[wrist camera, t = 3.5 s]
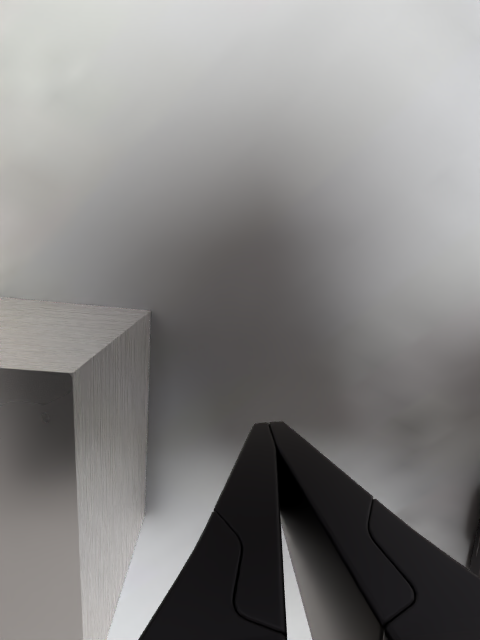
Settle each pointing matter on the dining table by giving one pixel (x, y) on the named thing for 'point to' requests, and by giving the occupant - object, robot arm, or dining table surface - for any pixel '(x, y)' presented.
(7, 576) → the block
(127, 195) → the dining table surface
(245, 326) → the dining table surface
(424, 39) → the dining table surface
